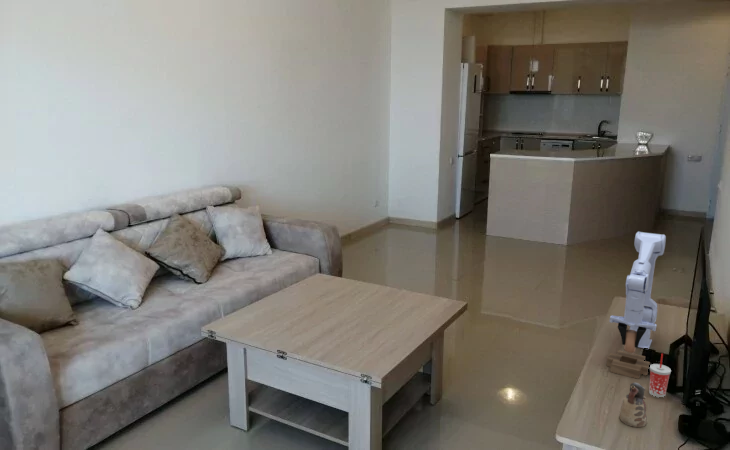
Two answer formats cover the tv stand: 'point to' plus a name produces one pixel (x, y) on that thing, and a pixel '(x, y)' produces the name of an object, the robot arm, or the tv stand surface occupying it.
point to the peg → (630, 340)
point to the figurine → (634, 407)
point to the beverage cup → (659, 379)
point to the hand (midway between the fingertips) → (630, 345)
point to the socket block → (628, 364)
